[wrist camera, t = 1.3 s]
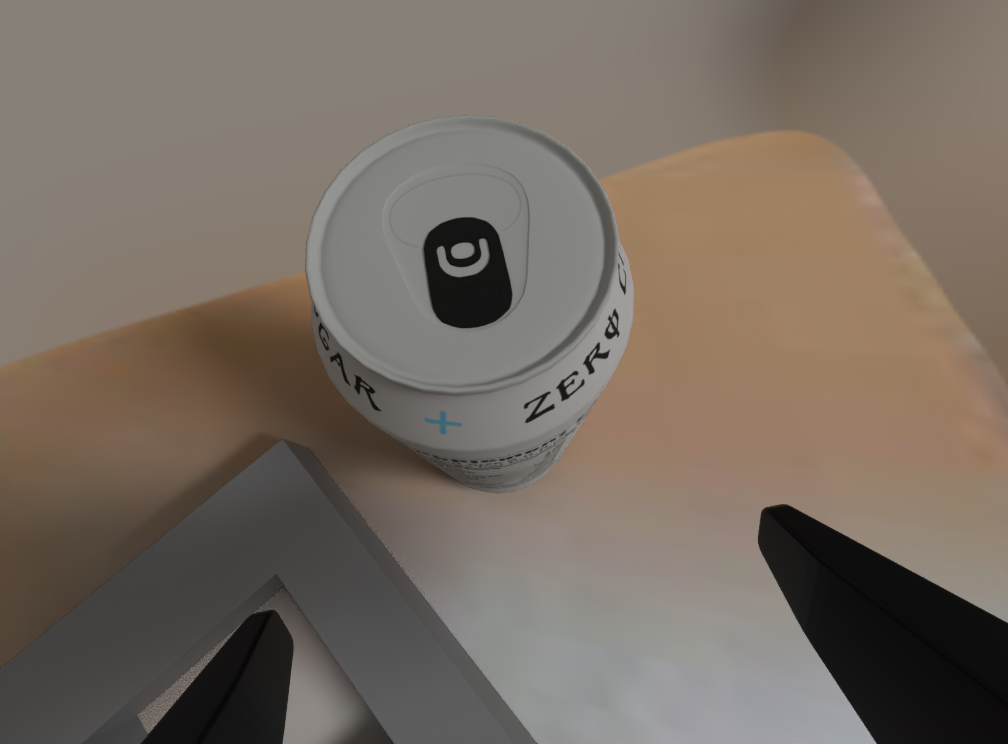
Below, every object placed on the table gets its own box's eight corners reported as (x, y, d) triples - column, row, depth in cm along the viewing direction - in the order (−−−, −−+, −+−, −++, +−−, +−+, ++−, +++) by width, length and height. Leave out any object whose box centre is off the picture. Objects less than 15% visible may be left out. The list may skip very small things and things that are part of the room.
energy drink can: (550, 350, 23) (602, 58, 8) (580, 479, 21) (714, 388, 7) (423, 375, 23) (255, 120, 8) (443, 507, 21) (276, 476, 6)
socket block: (556, 769, 18) (562, 807, 16) (238, 1116, 15) (187, 1226, 13) (308, 447, 22) (281, 438, 19) (20, 685, 19) (-50, 709, 17)
